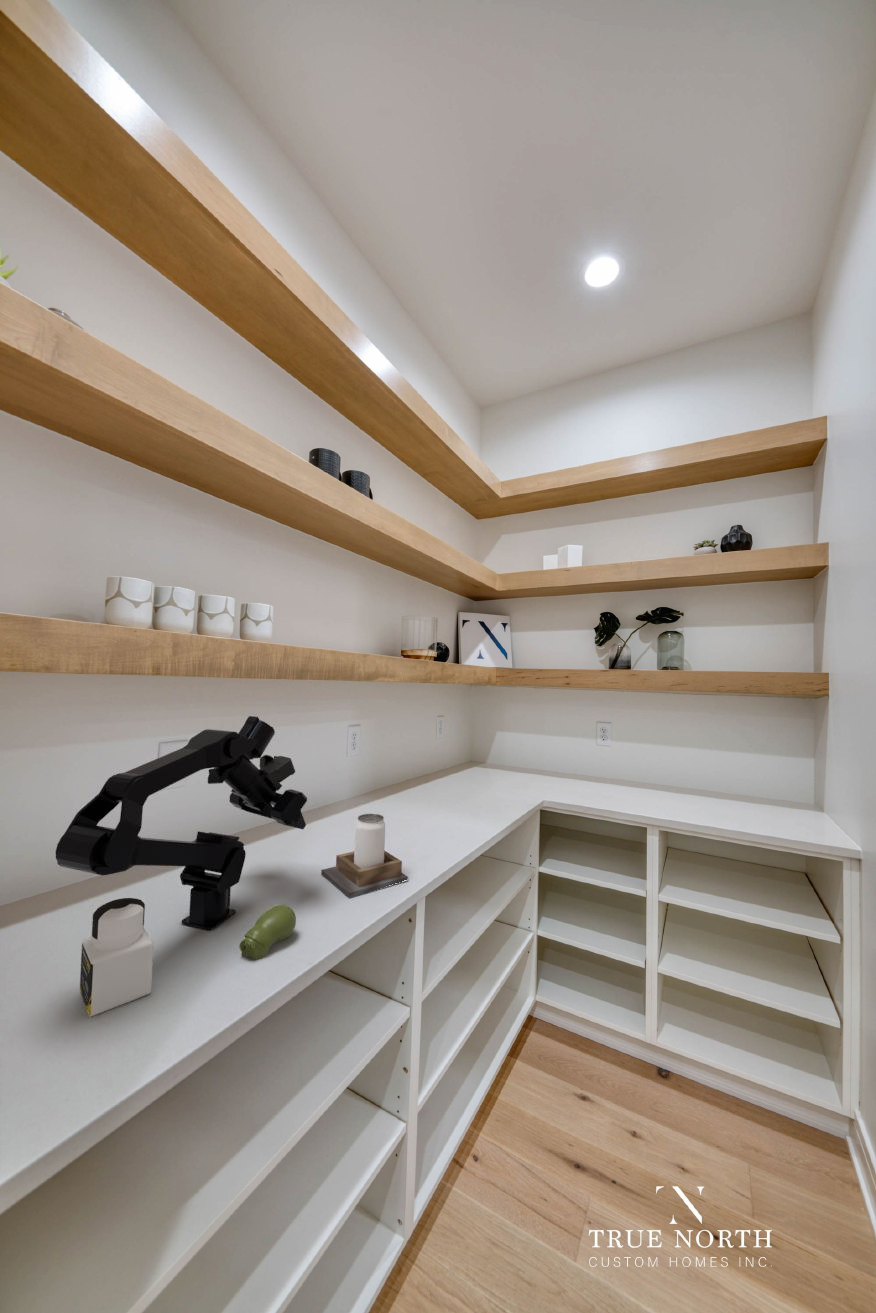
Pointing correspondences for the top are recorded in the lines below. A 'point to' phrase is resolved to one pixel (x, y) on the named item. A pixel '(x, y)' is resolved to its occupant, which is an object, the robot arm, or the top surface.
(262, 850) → the top surface
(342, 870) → the socket holder
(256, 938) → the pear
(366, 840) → the can
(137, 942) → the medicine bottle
